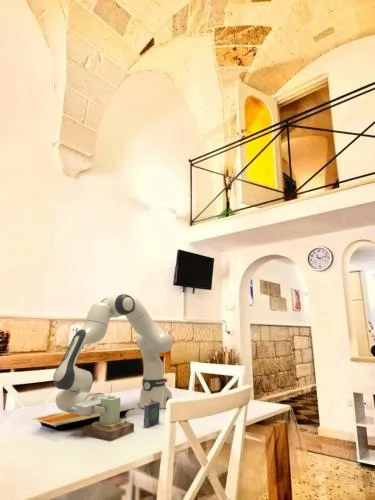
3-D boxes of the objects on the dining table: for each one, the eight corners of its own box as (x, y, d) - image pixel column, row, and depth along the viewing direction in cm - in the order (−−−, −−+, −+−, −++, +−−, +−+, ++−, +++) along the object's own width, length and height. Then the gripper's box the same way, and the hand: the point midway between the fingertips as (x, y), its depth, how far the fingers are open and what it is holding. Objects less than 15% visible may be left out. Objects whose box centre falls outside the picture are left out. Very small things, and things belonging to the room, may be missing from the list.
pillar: (108, 422, 135) (110, 394, 137) (119, 424, 132) (120, 396, 135) (99, 425, 130) (101, 396, 133) (109, 427, 127) (111, 398, 130)
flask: (146, 428, 137) (147, 400, 140) (141, 427, 139) (142, 399, 142) (160, 423, 145) (161, 397, 147) (155, 422, 146) (156, 396, 149)
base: (107, 426, 140) (108, 415, 141) (133, 431, 133) (134, 420, 134) (82, 435, 128) (83, 423, 129) (110, 441, 121) (111, 428, 122)
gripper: (68, 400, 131) (94, 404, 124) (104, 392, 148) (128, 395, 142) (66, 417, 129) (92, 422, 123) (103, 407, 146) (127, 411, 140)
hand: (112, 407), depth 132 cm, fingers open, 7 cm apart
